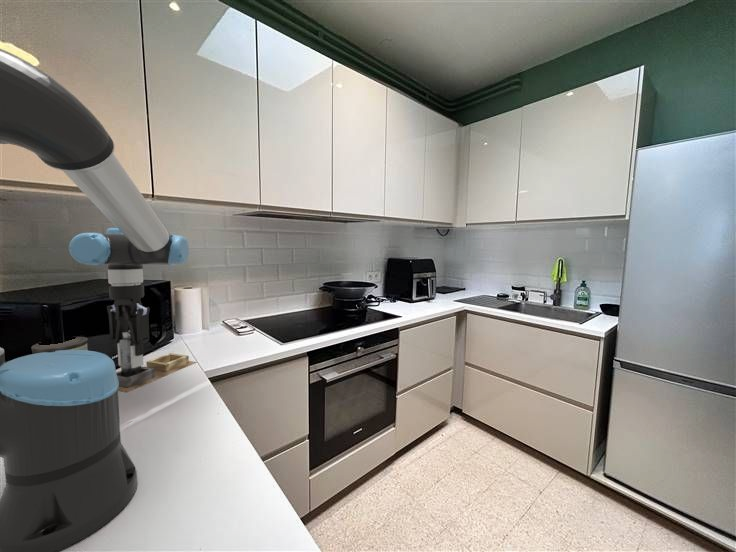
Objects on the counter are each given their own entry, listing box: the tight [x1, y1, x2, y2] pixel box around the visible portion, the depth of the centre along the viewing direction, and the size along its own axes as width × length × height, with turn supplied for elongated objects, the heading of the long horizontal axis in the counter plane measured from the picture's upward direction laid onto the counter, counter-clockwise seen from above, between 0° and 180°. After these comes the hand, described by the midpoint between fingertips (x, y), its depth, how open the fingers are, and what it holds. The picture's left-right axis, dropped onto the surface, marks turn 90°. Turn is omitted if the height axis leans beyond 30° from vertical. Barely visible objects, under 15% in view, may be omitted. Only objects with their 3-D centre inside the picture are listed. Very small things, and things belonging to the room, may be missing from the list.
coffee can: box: [30, 336, 89, 354], centre depth 78 cm, size 10×10×14 cm
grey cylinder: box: [120, 329, 142, 377], centre depth 82 cm, size 4×4×14 cm
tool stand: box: [116, 352, 198, 393], centre depth 88 cm, size 22×12×4 cm, turn 164°
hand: (131, 365), depth 82 cm, fingers closed on grey cylinder, 4 cm apart
